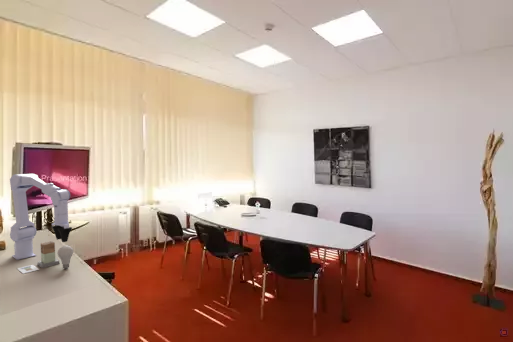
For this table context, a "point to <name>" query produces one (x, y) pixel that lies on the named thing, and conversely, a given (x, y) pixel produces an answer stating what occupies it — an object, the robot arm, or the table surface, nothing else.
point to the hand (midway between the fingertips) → (62, 240)
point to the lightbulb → (65, 255)
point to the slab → (48, 263)
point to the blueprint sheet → (27, 269)
